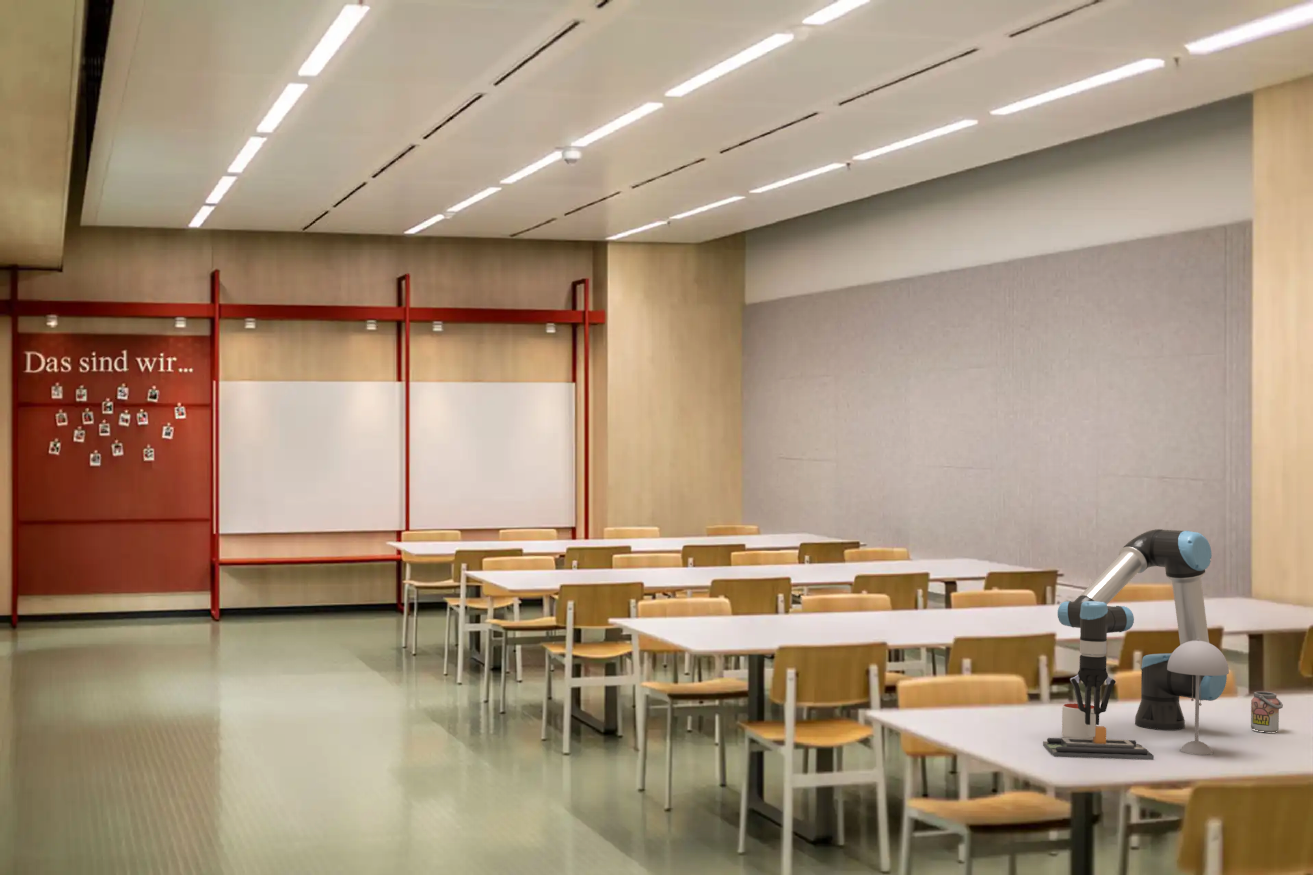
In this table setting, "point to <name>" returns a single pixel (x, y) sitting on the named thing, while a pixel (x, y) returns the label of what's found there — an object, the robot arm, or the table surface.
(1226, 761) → the table surface
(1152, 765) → the table surface
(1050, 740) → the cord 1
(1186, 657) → the lamp
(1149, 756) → the panel
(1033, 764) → the table surface
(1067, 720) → the cup
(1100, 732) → the toggle
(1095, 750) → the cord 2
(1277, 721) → the paint can
